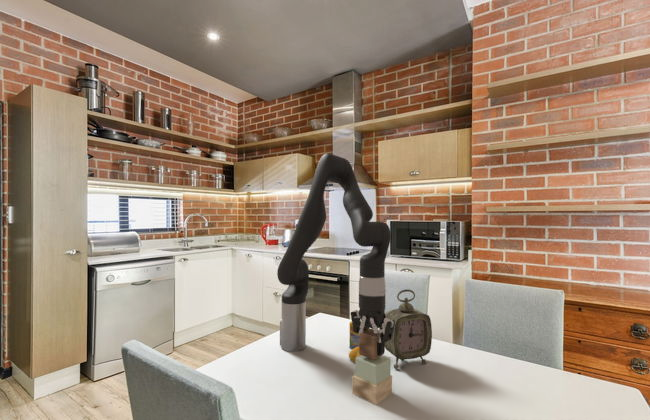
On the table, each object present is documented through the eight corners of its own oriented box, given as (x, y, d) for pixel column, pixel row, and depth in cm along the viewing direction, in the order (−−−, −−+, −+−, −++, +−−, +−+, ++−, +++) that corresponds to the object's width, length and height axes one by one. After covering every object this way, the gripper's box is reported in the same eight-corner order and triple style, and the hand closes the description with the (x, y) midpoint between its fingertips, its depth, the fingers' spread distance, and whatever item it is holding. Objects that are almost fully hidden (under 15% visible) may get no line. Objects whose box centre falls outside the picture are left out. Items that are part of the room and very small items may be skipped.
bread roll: (364, 369, 105) (364, 356, 105) (345, 359, 111) (345, 348, 111) (380, 361, 110) (380, 349, 110) (361, 353, 117) (361, 342, 117)
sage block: (355, 375, 90) (355, 358, 90) (370, 367, 95) (370, 350, 95) (375, 385, 85) (375, 366, 85) (390, 376, 90) (390, 358, 90)
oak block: (352, 394, 90) (352, 376, 90) (368, 383, 96) (368, 366, 96) (376, 405, 85) (376, 386, 85) (392, 393, 91) (392, 375, 91)
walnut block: (359, 354, 90) (359, 333, 90) (369, 348, 94) (369, 328, 94) (374, 359, 87) (374, 337, 87) (384, 354, 91) (384, 332, 91)
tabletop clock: (394, 372, 102) (394, 294, 102) (380, 360, 110) (380, 288, 111) (432, 366, 107) (431, 290, 107) (415, 354, 115) (415, 285, 116)
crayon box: (349, 348, 120) (349, 317, 121) (353, 345, 123) (353, 315, 123) (365, 353, 116) (365, 321, 116) (369, 351, 118) (369, 319, 118)
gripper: (344, 289, 93) (343, 348, 93) (386, 298, 83) (386, 364, 83) (359, 285, 98) (359, 341, 98) (401, 293, 89) (401, 355, 88)
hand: (371, 351), depth 90 cm, fingers closed on walnut block, 5 cm apart
